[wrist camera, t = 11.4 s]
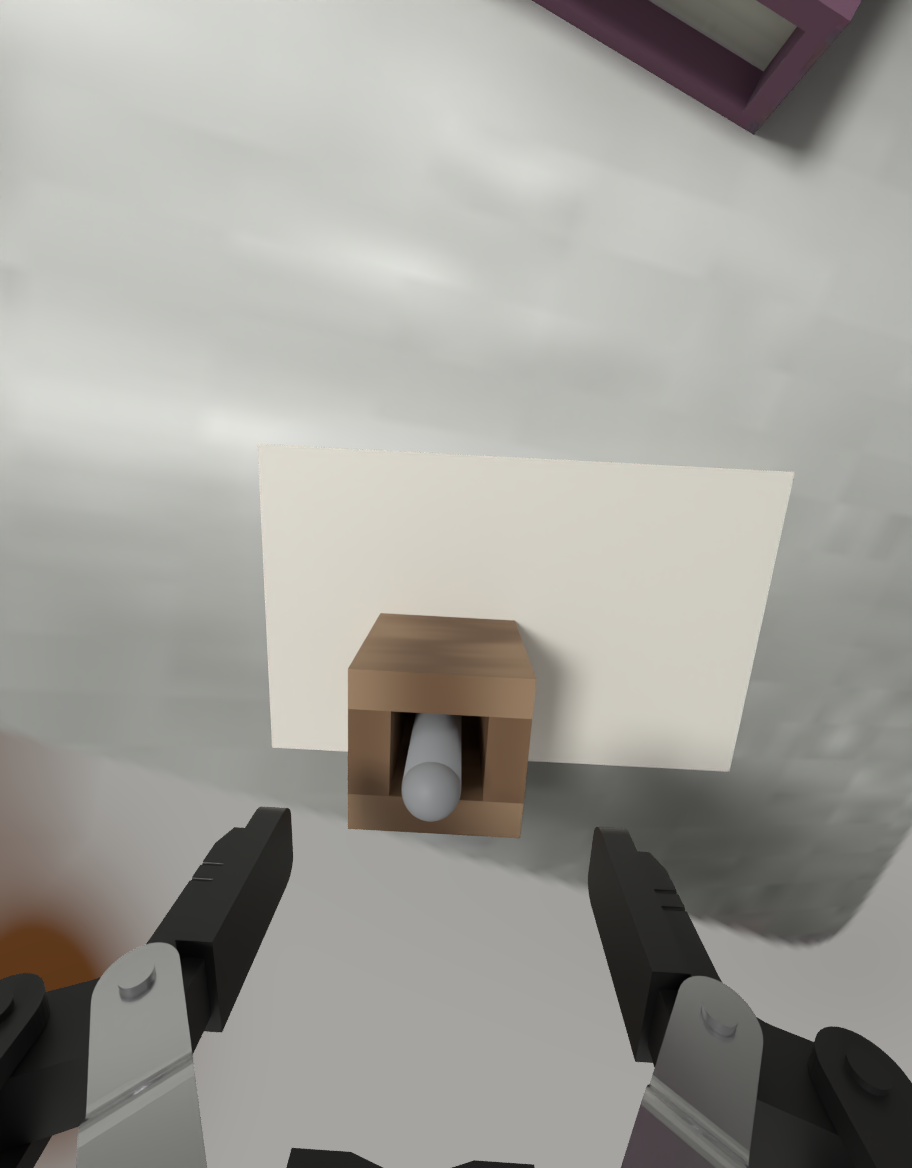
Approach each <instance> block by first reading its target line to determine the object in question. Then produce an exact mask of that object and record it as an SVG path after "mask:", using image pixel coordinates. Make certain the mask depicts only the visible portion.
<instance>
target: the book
mask: <svg viewBox="0 0 912 1168" xmlns="http://www.w3.org/2000/svg"><path fill="white" fill-rule="evenodd" d="M532 1H534V2H536V3H537V4H539V5H541V6H542V7H544V8H546V9H547V10H549V11H551V12H552V13H554V14H555V15H557V16H559V17H560V18H562V19H564V20H565V21H567V22H569V23H570V24H572V25H574V26H575V27H577V28H579V29H580V30H582V31H584V32H585V33H587V34H589V35H590V36H592V37H593V38H595V39H597V40H598V41H600V42H602V43H603V44H605V45H607V46H608V47H610V48H612V49H613V50H615V51H617V52H618V53H620V54H622V55H623V56H625V57H626V58H628V59H630V60H631V61H633V62H635V63H636V64H638V65H640V66H641V67H643V68H645V69H646V70H648V71H650V72H651V73H653V74H655V75H656V76H658V77H660V78H661V79H663V80H664V81H666V82H668V83H669V84H671V85H673V86H674V87H676V88H678V89H679V90H681V91H683V92H684V93H686V94H688V95H689V96H691V97H693V98H694V99H696V100H697V101H699V102H701V103H702V104H704V105H706V106H707V107H709V108H711V109H712V110H714V111H716V112H717V113H719V114H721V115H722V116H724V117H726V118H727V119H729V120H731V121H732V122H734V123H735V124H737V125H739V126H740V127H742V128H744V129H745V130H747V131H749V132H750V133H752V134H754V133H755V132H756V131H757V130H758V128H759V127H760V126H761V125H762V124H763V123H764V121H765V120H766V119H767V118H768V117H769V116H770V114H771V113H772V112H773V111H774V110H775V109H776V107H777V106H778V105H779V104H780V103H781V102H782V100H783V99H784V98H785V97H786V96H787V95H788V93H789V92H790V91H791V90H792V89H793V88H794V86H795V85H796V84H797V83H798V82H799V81H800V79H801V78H802V77H803V76H804V75H805V74H806V72H807V71H808V70H809V69H810V68H811V67H812V65H813V64H814V63H815V62H816V61H817V60H818V58H819V57H820V56H821V55H822V54H823V53H824V51H825V50H826V49H827V48H828V47H829V46H830V44H831V43H832V42H833V41H834V40H835V39H836V37H837V36H838V35H839V34H840V33H841V32H842V30H843V29H844V28H845V27H846V26H847V25H848V23H849V22H850V21H851V19H852V17H853V15H854V14H855V12H856V10H857V8H858V6H859V4H860V3H861V1H862V0H532Z"/></svg>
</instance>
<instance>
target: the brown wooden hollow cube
mask: <svg viewBox="0 0 912 1168" xmlns="http://www.w3.org/2000/svg"><path fill="white" fill-rule="evenodd" d="M535 688H536V677H535V674H534V671H533V669H532V666H531V663H530V660H529V658H528V655H527V652H526V649H525V646H524V644H523V641H522V638H521V635H520V633H519V630H518V627H517V624H516V622H515V621H514V620H496V619H478V618H460V617H442V616H424V615H406V614H388V613H380V615H379V616H378V618H377V620H376V622H375V623H374V625H373V627H372V628H371V630H370V632H369V634H368V635H367V637H366V639H365V640H364V642H363V644H362V646H361V647H360V649H359V651H358V652H357V654H356V656H355V658H354V659H353V661H352V663H351V664H350V666H349V668H348V829H363V830H381V831H400V832H418V833H436V834H454V835H472V836H490V837H508V838H520V834H521V824H522V814H523V805H524V795H525V785H526V775H527V766H528V756H529V746H530V736H531V727H532V717H533V707H534V698H535ZM416 713H430V714H448V715H462V721H461V795H460V799H459V802H458V804H457V806H456V808H455V809H454V811H453V812H452V813H450V814H449V815H448V816H447V817H445V818H444V819H441V820H438V821H434V822H428V821H423V820H420V819H418V818H416V817H415V816H413V815H412V814H411V813H410V812H409V810H408V809H407V807H406V806H405V804H404V801H403V797H402V781H403V776H404V771H405V765H406V760H407V755H408V750H409V745H410V740H411V734H412V729H413V724H414V719H415V714H416Z"/></svg>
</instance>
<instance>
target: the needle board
mask: <svg viewBox="0 0 912 1168" xmlns="http://www.w3.org/2000/svg"><path fill="white" fill-rule="evenodd" d="M258 464H259V485H260V505H261V526H262V546H263V567H264V588H265V608H266V629H267V649H268V670H269V691H270V711H271V732H272V747H273V748H292V749H311V750H330V751H348V668H349V666H350V664H351V663H352V661H353V659H354V658H355V656H356V654H357V652H358V651H359V649H360V647H361V646H362V644H363V642H364V640H365V639H366V637H367V635H368V634H369V632H370V630H371V628H372V627H373V625H374V623H375V622H376V620H377V618H378V616H379V615H380V613H388V614H406V615H424V616H442V617H460V618H478V619H496V620H514V621H515V622H516V624H517V627H518V630H519V633H520V635H521V638H522V641H523V644H524V646H525V649H526V652H527V655H528V658H529V660H530V663H531V666H532V669H533V671H534V674H535V677H536V688H535V698H534V707H533V717H532V727H531V736H530V746H529V756H528V761H538V762H557V763H576V764H595V765H614V766H633V767H652V768H671V769H690V770H709V771H728V772H729V771H730V766H731V762H732V757H733V753H734V748H735V744H736V739H737V734H738V730H739V725H740V721H741V716H742V711H743V707H744V702H745V698H746V693H747V688H748V684H749V679H750V675H751V670H752V666H753V661H754V656H755V652H756V647H757V643H758V638H759V633H760V629H761V624H762V620H763V615H764V610H765V606H766V601H767V597H768V592H769V588H770V583H771V578H772V574H773V569H774V565H775V560H776V555H777V551H778V546H779V542H780V537H781V532H782V528H783V523H784V519H785V514H786V510H787V505H788V500H789V496H790V491H791V487H792V482H793V477H794V473H795V472H783V471H764V470H745V469H726V468H707V467H688V466H669V465H650V464H631V463H612V462H593V461H574V460H554V459H535V458H516V457H497V456H478V455H459V454H440V453H421V452H402V451H383V450H364V449H345V448H325V447H306V446H287V445H268V444H258ZM461 721H462V715H448V714H430V713H416V714H415V719H414V724H413V729H412V734H411V740H410V745H409V750H408V755H407V760H406V765H405V771H404V776H403V781H402V797H403V801H404V804H405V806H406V807H407V809H408V810H409V812H410V813H411V814H412V815H413V816H415V817H416V818H418V819H420V820H423V821H428V822H434V821H438V820H441V819H444V818H445V817H447V816H448V815H449V814H450V813H452V812H453V811H454V809H455V808H456V806H457V804H458V802H459V799H460V795H461Z"/></svg>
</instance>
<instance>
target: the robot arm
mask: <svg viewBox="0 0 912 1168" xmlns="http://www.w3.org/2000/svg"><path fill="white" fill-rule="evenodd" d="M292 862H293V846H292V826H291V812H290V809H288V808H275V807H259V808H258V809H257V810H256V812H255V813H254V815H253V816H252V818H251V819H250V821H249V823H248V824H247V826H246V827H245V828H235V827H234V828H233V829H232V830H231V831H229V832H228V833H227V834H226V835H225V836H223V837H222V838H221V839H220V840H218V841H217V842H216V843H215V844H214V846H213V847H212V849H211V850H210V852H209V853H208V855H207V856H206V858H205V859H204V861H203V864H202V865H200V866H199V868H198V869H197V871H196V872H195V874H194V875H193V878H192V880H191V881H189V883H188V884H187V885H186V887H185V888H184V890H183V891H182V893H181V894H180V896H179V897H178V899H177V900H176V902H175V903H174V904H173V906H172V907H171V909H170V910H169V912H168V913H167V915H166V917H165V918H164V919H163V921H162V922H161V924H160V925H159V927H158V928H157V929H156V931H155V932H154V934H153V935H152V937H151V938H150V940H149V941H148V942H147V944H146V945H143V946H140V947H138V948H135V949H134V950H132V951H130V952H128V953H127V954H125V955H123V956H122V957H121V958H120V959H118V960H117V961H116V962H114V963H113V964H112V965H111V966H110V967H109V968H108V969H107V970H106V972H105V973H104V974H103V975H102V977H100V978H97V979H94V980H91V981H87V982H83V983H79V984H75V985H72V986H68V987H64V988H60V989H56V990H52V991H48V992H46V990H45V985H44V982H43V980H42V979H41V978H40V977H39V976H38V975H35V974H30V973H23V974H16V975H12V976H9V977H6V978H3V979H1V980H0V1168H33V1167H34V1166H35V1164H36V1162H37V1160H38V1159H39V1157H40V1155H41V1154H42V1152H43V1150H44V1149H45V1147H46V1145H47V1143H48V1142H49V1140H50V1138H51V1137H52V1135H55V1134H58V1133H61V1132H64V1131H66V1130H69V1129H72V1128H75V1127H78V1126H80V1127H79V1133H78V1142H77V1159H76V1168H207V1163H206V1155H205V1147H204V1140H203V1132H202V1125H201V1117H200V1109H199V1101H198V1094H197V1087H196V1078H195V1071H194V1063H193V1057H192V1056H193V1053H194V1050H195V1049H196V1046H197V1044H198V1042H199V1040H200V1038H201V1035H202V1034H203V1032H204V1031H209V1032H222V1031H223V1029H224V1027H225V1024H226V1022H227V1020H228V1017H229V1015H230V1013H231V1011H232V1008H233V1006H234V1004H235V1002H236V999H237V997H238V995H239V993H240V990H241V988H242V986H243V983H244V981H245V979H246V976H247V974H248V972H249V970H250V967H251V965H252V963H253V961H254V958H255V956H256V954H257V952H258V949H259V947H260V945H261V943H262V940H263V938H264V936H265V934H266V931H267V929H268V927H269V924H270V922H271V920H272V918H273V915H274V913H275V911H276V908H277V906H278V904H279V902H280V900H281V897H282V895H283V893H284V890H285V888H286V886H287V883H288V881H289V877H290V874H291V869H292ZM588 889H589V897H590V902H591V906H592V909H593V913H594V917H595V920H596V924H597V927H598V931H599V934H600V938H601V941H602V945H603V949H604V952H605V956H606V959H607V963H608V966H609V970H610V973H611V977H612V980H613V984H614V987H615V991H616V995H617V998H618V1002H619V1005H620V1009H621V1012H622V1016H623V1019H624V1023H625V1027H626V1030H627V1033H628V1037H629V1041H630V1044H631V1048H632V1051H633V1055H634V1059H635V1061H636V1062H650V1063H653V1064H654V1067H655V1069H654V1072H653V1075H652V1079H651V1081H650V1084H649V1085H648V1086H647V1087H646V1090H645V1093H644V1096H643V1099H642V1102H641V1105H640V1108H639V1111H638V1115H637V1118H636V1121H635V1124H634V1127H633V1131H632V1134H631V1137H630V1140H629V1143H628V1147H627V1150H626V1153H625V1156H624V1159H623V1163H622V1166H621V1168H912V1083H911V1081H910V1080H909V1079H908V1077H907V1076H906V1075H905V1073H904V1072H903V1071H902V1070H901V1068H900V1067H899V1066H898V1065H897V1064H896V1063H895V1062H894V1061H893V1060H892V1059H891V1058H890V1057H889V1056H888V1055H887V1054H886V1053H884V1051H882V1050H881V1049H880V1048H879V1047H877V1046H876V1045H875V1044H873V1043H872V1042H870V1041H869V1040H867V1039H866V1038H864V1037H863V1036H861V1035H859V1034H857V1033H854V1032H853V1031H850V1030H847V1029H844V1028H840V1027H826V1028H823V1029H822V1030H820V1031H819V1032H818V1034H817V1036H816V1038H815V1042H812V1041H810V1040H807V1039H805V1038H802V1037H800V1036H797V1035H794V1034H792V1033H789V1032H787V1031H784V1030H782V1029H779V1028H777V1027H774V1026H772V1025H770V1024H768V1023H765V1022H764V1021H762V1020H760V1019H759V1018H757V1017H756V1016H755V1014H754V1013H753V1011H752V1010H751V1008H750V1007H749V1006H748V1004H747V1003H746V1002H745V1001H744V1000H743V999H742V998H741V997H740V996H739V995H738V994H737V993H736V992H735V991H733V990H732V989H731V988H730V987H728V986H727V985H725V984H723V983H722V981H721V980H720V978H719V976H718V974H717V972H716V970H715V968H714V966H713V964H712V962H711V960H710V958H709V956H708V954H707V952H706V950H705V948H704V946H703V944H702V942H701V940H700V938H699V936H698V934H697V931H696V929H695V927H694V926H693V923H692V921H691V919H690V917H689V915H688V913H687V912H685V907H684V905H683V903H682V901H681V899H680V897H679V895H678V894H677V893H676V889H675V887H674V885H673V883H672V881H671V879H670V877H669V875H668V873H667V871H666V870H665V868H664V867H663V866H662V865H661V864H660V863H659V862H658V861H657V860H656V859H655V858H654V857H653V856H652V855H651V854H650V853H649V852H637V850H636V848H635V846H634V843H633V841H632V839H631V837H630V834H629V832H628V831H627V830H626V829H625V828H609V827H596V828H595V830H594V836H593V843H592V850H591V858H590V865H589V872H588ZM287 1168H382V1167H380V1166H378V1165H376V1164H374V1163H372V1162H370V1161H368V1160H366V1159H364V1158H362V1157H360V1156H358V1155H356V1154H354V1153H352V1152H343V1151H329V1150H328V1151H327V1150H313V1149H300V1148H292V1149H291V1153H290V1157H289V1160H288V1164H287ZM453 1168H534V1165H531V1164H516V1163H502V1162H488V1161H471V1162H468V1163H465V1164H462V1165H459V1166H456V1167H453Z"/></svg>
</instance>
